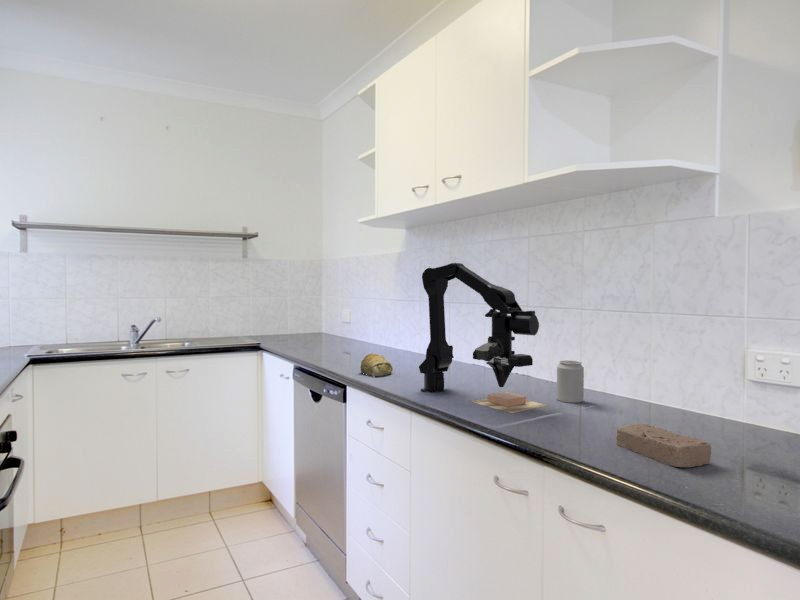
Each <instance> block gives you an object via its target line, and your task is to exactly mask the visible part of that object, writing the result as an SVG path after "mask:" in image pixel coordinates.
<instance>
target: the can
mask: <svg viewBox="0 0 800 600" xmlns="http://www.w3.org/2000/svg"><path fill="white" fill-rule="evenodd" d="M584 369H585V367H584V366H583V365H582V362H581V361H578V360H559V364H558V365H557V366H556V399H557V400H558V401H560V402H562V403H569V404H578V403H582V402H584V387H585V386H584V381H585V380H584V379H585V378H584V377H585V375H584V374H585V373H584V372H585V371H584Z"/></svg>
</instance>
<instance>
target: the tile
mask: <svg viewBox="0 0 800 600" xmlns="http://www.w3.org/2000/svg"><path fill="white" fill-rule="evenodd" d="M487 398H488V401H489V402H492V403H495V404H499V405H503V406H506V407H511V406H517V405H522V404H526V400H527V396H526V395H522V394H517V393H513V392H509V391H500V392H494V393H488V394H487Z"/></svg>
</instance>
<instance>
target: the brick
mask: <svg viewBox="0 0 800 600" xmlns="http://www.w3.org/2000/svg"><path fill="white" fill-rule="evenodd" d="M615 439H616V440H615V445H616V446H619V447H621V448H623V449H627V450H630V451H632V452H635V453H636V454H639V455H642V456H645V457H647V458H650V459H652V460H655V461H657V462H660V463H662V464H665V465H668V466H671V467H675V468H693V467H701V466H704V465H708V464H710V462H711V456H712V445H711V443H710V442H707V441H705V440H702V439H699V438H696V437H690V436H687V435H680V434H678V433H676V432H673V431H669V430H667V429H664V428H661V427H659V426H655V425H650V424H648V423H643V422H642V423H641V422H639V423H637V422H635V423H630V424H625V425H620V426H617V427H616V435H615Z"/></svg>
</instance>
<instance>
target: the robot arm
mask: <svg viewBox="0 0 800 600" xmlns="http://www.w3.org/2000/svg"><path fill="white" fill-rule="evenodd" d="M421 279H422V285H423V289H424V291H425V293H426V294H427V297H428V315H429V335H430V337H429V338H430V339H429V340H430V341H429V342H428V346H427V348H426V352H425V359H424V360H423V361H422V362H421V363H420V364H419V366H418V369H419V373H420V374H423V377H424V381H423V382H424V384H423V385H424V386H423V387H424V388H420V390H419V391H421V392H425V393H426V392H428V393H431V394H432V393H440V392H445V391H446V392H447V391H448V389H445V373H446V372H448V370H449V367H450V365H451V364H452V362H453V359H454V358H455V357H454V355H453V354H454V352H453V351H454V347H453V345H449V343H448V342H447V337H446V335H447V334H446V316H445V294H446V292H447V290H448V286H449V282H450V281H452V280H454V279H458V281H460V282H461V283H463V284H464V285H466V286H467V287H469V288H470V289H472V290H474V291H475V292H476V293H478V294H479V295H480V296H481V297H482V299H483V300H484V302H485V303H486V304H487V305H488V306H489V307H490V309H489V311H488V312H487V313H486V314H484V316H485V318H491V336H488V338H487V342H486V343H483V344H482V345H479V346H478V347H477V348H475V349H474V351H473V352H472V359H473V360H476V361H477V360H478V361H484V362H485V363H486V365H488V366H489V367H491V368H492V371H493V373H494V376H495V379H496V381H497V384H498V387H499V388H504V387H505V385H506V383H507V380H508V378H509V377H510V375H511V373H512V372H513V369H514V368H517V367H518V368H519V367H520V368H521V367H530V366H533V365H534V364H533V357H532V356H531V355H530V354H524V353H518V354H516V352H515V350H513V349H512V348H513V345H512V344H513V341H516V337H515V336H513V334H514V335H523V336H524V335H525V336H536V335H537V334H538V332H539V328H540V322H539V319H538V316H537V315H536V311H535V310H527V311H526V310H523V309H522V308H521V306H520V305H519V303H518V302H517V300H516V296H515V293H514V292H513V291H512V290H510V289H507V288H505V287H503V286H499V285H495V284H493V283H491V282H489V281H488V280H487V279H485V278H484V277H482V276H481V275H479V274H477V273H476V272H474V271H473V270H471V269H469V268H468V267H466V266H465V265H464V264H463V263H461V262H451V263H449V264H445V265H442V266H438V267H427V268H425V270H424V271H423V272H422V274H421ZM444 372H445V373H444Z"/></svg>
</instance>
